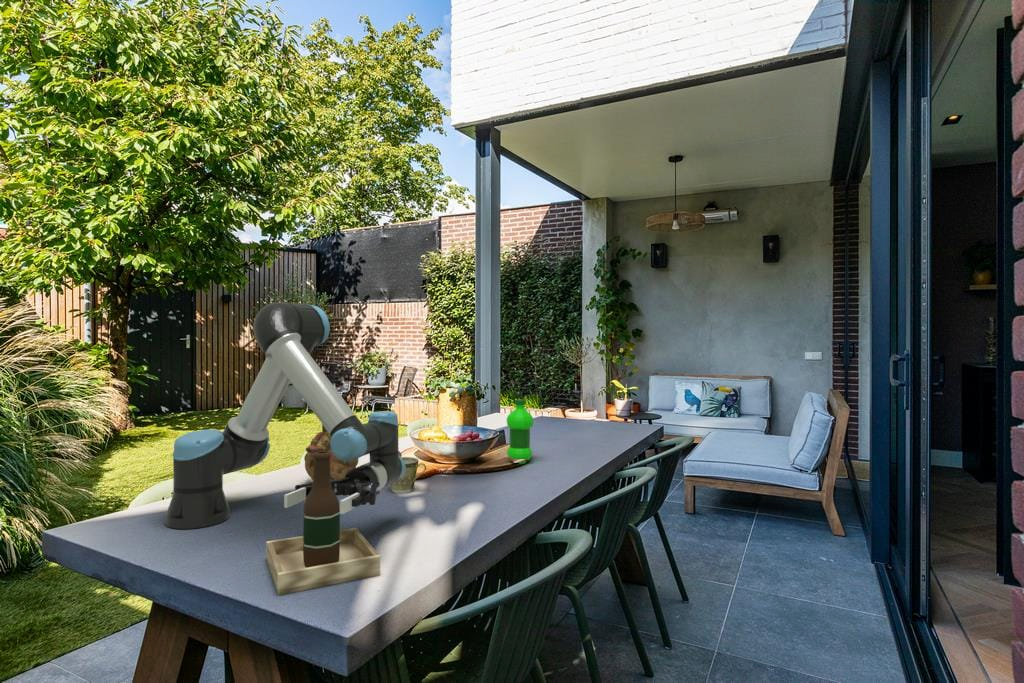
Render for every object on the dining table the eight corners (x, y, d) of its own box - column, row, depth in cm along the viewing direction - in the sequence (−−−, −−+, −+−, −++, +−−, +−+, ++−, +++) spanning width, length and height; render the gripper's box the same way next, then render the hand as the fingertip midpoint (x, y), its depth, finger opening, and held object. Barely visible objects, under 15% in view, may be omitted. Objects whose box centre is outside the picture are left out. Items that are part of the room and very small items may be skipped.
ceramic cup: (381, 493, 181) (381, 462, 181) (395, 485, 191) (395, 455, 191) (419, 497, 178) (419, 465, 178) (431, 488, 188) (431, 458, 188)
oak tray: (278, 595, 111) (278, 574, 111) (266, 559, 128) (266, 541, 128) (379, 575, 120) (380, 556, 120) (356, 544, 138) (356, 527, 138)
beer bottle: (343, 555, 128) (344, 448, 128) (334, 569, 120) (335, 456, 120) (308, 555, 128) (309, 448, 128) (297, 569, 120) (298, 455, 120)
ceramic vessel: (284, 492, 181) (285, 413, 181) (325, 473, 206) (326, 404, 206) (335, 496, 178) (335, 416, 178) (370, 476, 203) (370, 405, 203)
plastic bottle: (537, 463, 226) (538, 400, 226) (515, 466, 220) (515, 402, 220) (523, 458, 235) (524, 398, 234) (501, 461, 229) (502, 399, 229)
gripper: (411, 500, 138) (365, 528, 118) (321, 491, 145) (263, 516, 124) (411, 469, 138) (365, 491, 118) (321, 461, 145) (263, 481, 124)
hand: (312, 504), depth 121 cm, fingers open, 13 cm apart
